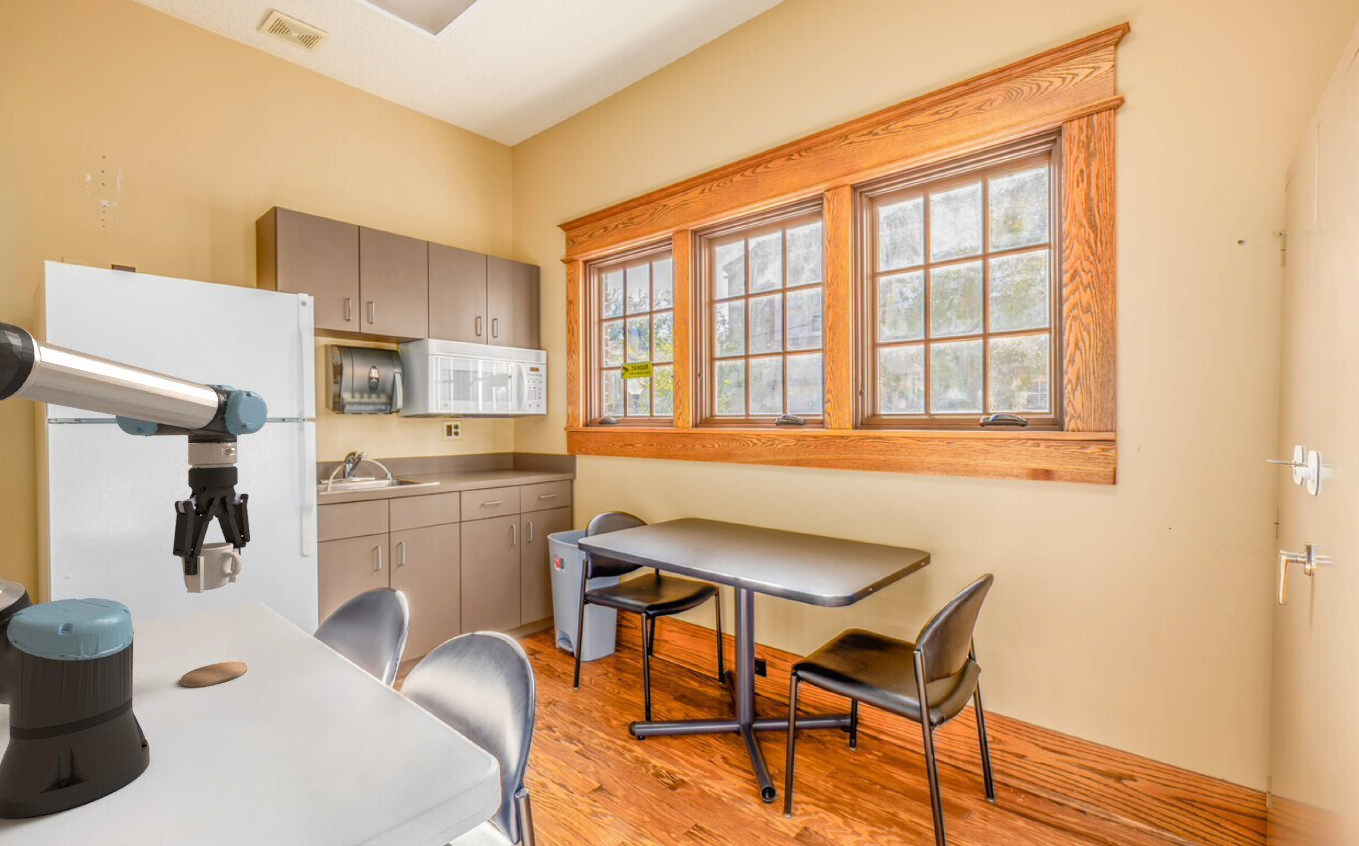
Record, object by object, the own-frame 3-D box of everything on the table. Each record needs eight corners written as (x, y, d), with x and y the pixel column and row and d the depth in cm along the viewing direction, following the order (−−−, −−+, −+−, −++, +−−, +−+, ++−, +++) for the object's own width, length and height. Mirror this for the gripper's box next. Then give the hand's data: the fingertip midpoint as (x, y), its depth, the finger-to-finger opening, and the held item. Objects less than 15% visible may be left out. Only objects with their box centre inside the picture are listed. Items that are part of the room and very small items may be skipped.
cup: (256, 583, 121) (256, 542, 121) (222, 594, 113) (222, 550, 113) (206, 582, 122) (206, 541, 122) (169, 593, 114) (168, 549, 114)
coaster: (214, 688, 111) (214, 683, 111) (166, 685, 113) (166, 681, 113) (259, 666, 121) (259, 662, 121) (214, 664, 123) (214, 660, 123)
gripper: (181, 469, 107) (182, 601, 107) (272, 462, 127) (273, 574, 126) (144, 469, 108) (144, 600, 108) (239, 463, 128) (240, 574, 128)
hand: (214, 586), depth 117 cm, fingers closed on cup, 7 cm apart
